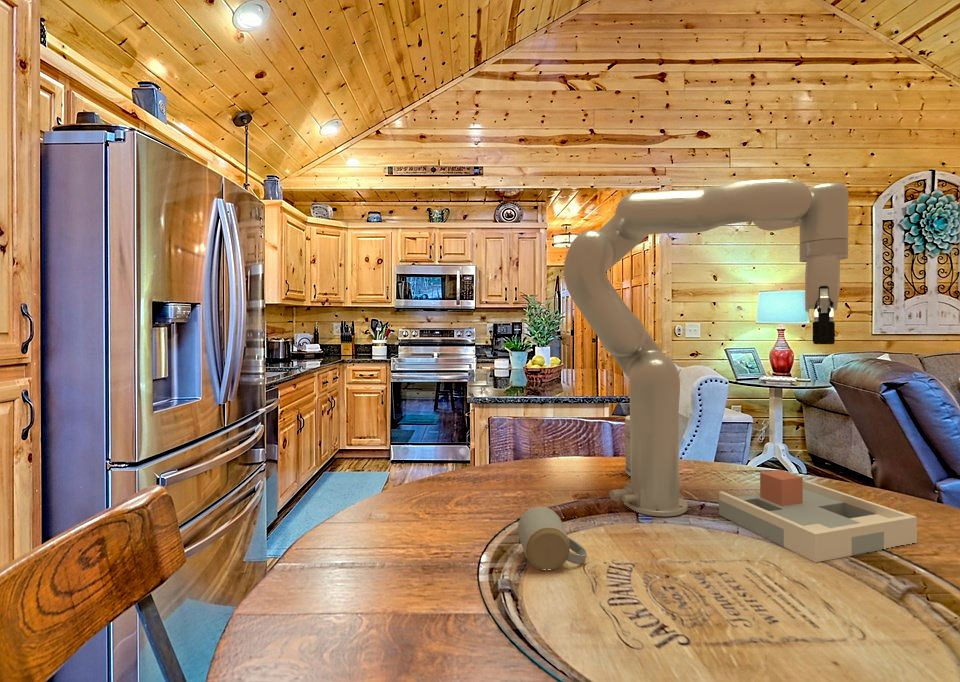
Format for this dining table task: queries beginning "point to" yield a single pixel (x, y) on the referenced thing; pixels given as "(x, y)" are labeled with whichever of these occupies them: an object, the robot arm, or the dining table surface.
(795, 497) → the block
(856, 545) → the board
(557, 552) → the ceramic mug
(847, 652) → the dining table surface
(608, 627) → the dining table surface
